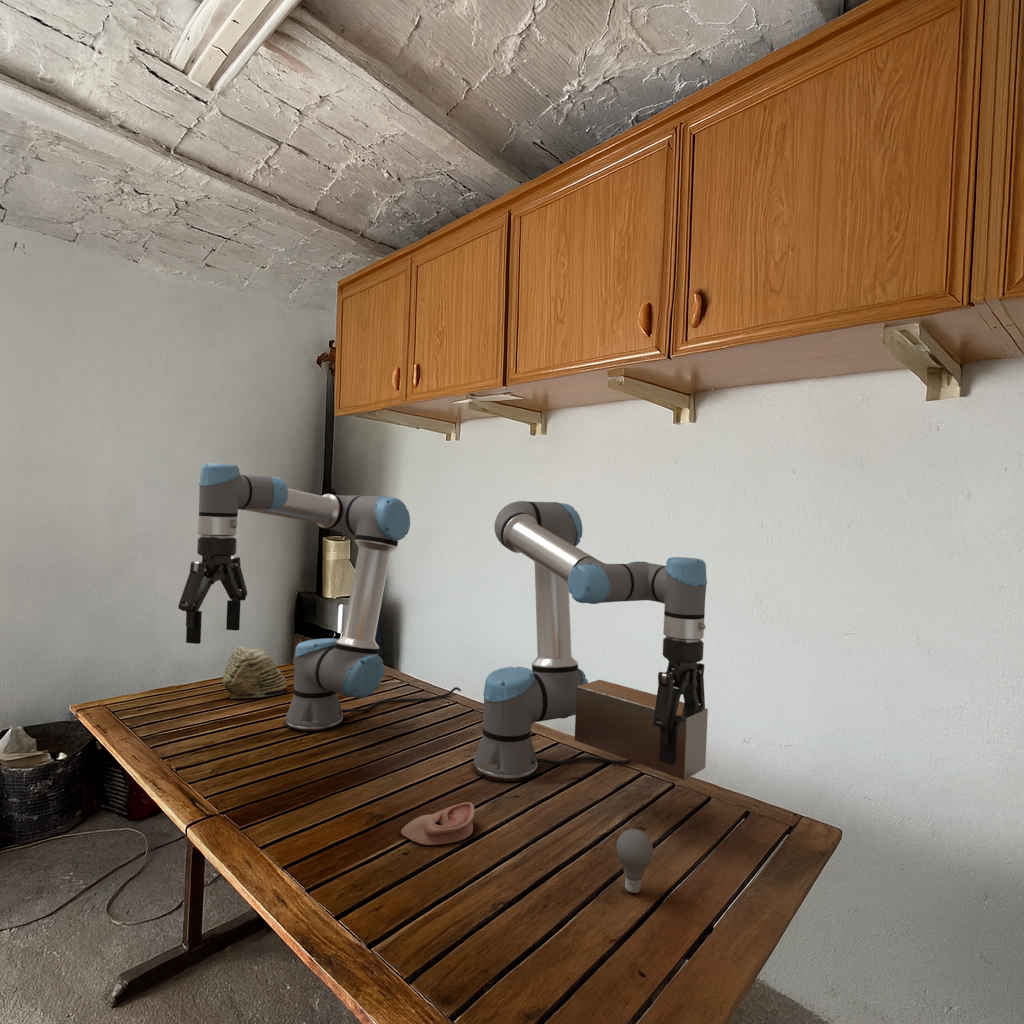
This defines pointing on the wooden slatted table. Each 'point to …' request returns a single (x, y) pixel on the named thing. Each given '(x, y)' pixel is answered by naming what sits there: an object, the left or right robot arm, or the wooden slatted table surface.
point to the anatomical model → (442, 825)
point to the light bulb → (634, 857)
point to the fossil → (252, 674)
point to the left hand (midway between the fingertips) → (214, 636)
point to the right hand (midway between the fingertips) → (678, 755)
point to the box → (639, 727)
